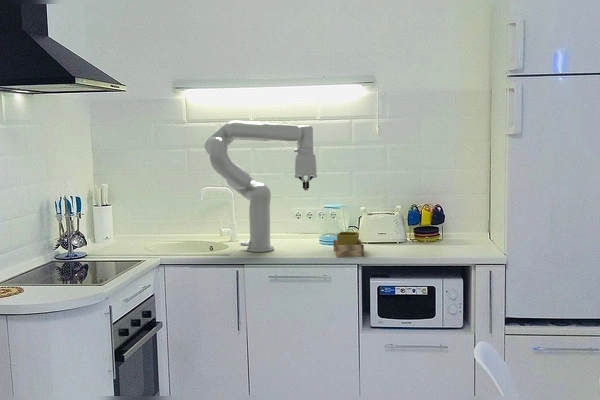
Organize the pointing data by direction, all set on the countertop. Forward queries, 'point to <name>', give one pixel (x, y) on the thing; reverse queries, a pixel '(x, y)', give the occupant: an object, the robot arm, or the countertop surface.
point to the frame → (349, 249)
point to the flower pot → (348, 238)
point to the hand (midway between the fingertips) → (306, 190)
